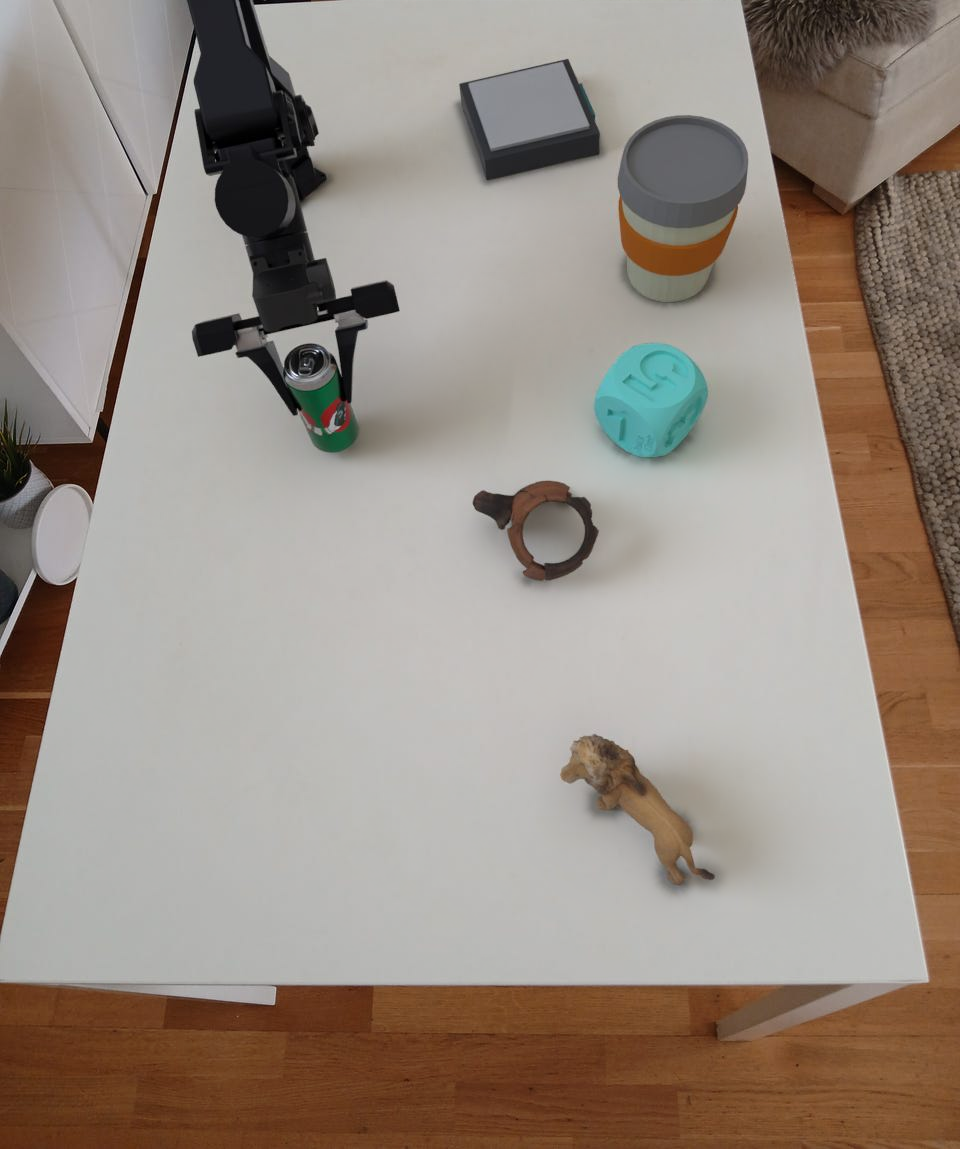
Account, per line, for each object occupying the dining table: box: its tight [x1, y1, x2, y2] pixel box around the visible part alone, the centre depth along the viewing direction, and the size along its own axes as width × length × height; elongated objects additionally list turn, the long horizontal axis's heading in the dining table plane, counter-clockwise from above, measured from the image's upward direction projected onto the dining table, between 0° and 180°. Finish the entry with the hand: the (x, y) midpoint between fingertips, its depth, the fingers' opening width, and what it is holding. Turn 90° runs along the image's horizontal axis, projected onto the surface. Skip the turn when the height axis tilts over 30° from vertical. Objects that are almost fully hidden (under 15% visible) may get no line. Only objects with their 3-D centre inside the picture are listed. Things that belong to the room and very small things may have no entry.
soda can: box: [283, 342, 360, 454], centre depth 88 cm, size 5×5×12 cm
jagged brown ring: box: [472, 480, 600, 582], centre depth 86 cm, size 12×10×8 cm
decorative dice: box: [593, 342, 709, 458], centre depth 89 cm, size 8×8×8 cm
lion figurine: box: [559, 733, 716, 885], centre depth 72 cm, size 15×5×9 cm, turn 50°
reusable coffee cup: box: [617, 114, 749, 303], centre depth 94 cm, size 12×13×15 cm
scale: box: [458, 58, 601, 181], centre depth 111 cm, size 15×14×4 cm
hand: (322, 408), depth 87 cm, fingers closed on soda can, 5 cm apart
